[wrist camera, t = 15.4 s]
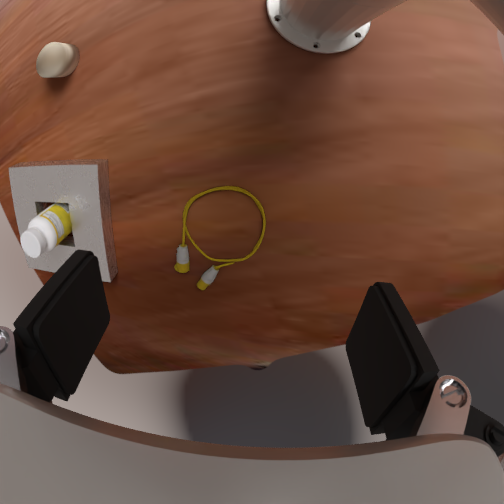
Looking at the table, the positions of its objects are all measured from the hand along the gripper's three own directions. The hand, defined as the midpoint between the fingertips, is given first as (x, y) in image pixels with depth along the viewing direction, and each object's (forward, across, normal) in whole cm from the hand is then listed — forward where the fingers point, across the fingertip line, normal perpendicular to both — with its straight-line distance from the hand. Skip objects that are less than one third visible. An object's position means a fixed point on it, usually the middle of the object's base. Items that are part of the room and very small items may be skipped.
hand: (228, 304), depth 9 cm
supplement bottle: (+28, +28, +11) cm, 41 cm away
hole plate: (+28, +28, +11) cm, 41 cm away
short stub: (+28, +27, -13) cm, 41 cm away
